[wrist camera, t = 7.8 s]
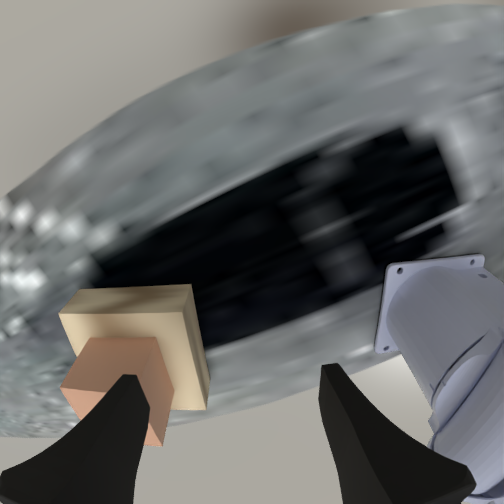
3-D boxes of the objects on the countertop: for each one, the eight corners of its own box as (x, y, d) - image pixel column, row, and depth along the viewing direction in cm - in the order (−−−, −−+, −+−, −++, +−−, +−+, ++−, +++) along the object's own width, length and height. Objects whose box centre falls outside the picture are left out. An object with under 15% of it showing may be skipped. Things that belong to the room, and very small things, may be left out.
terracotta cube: (156, 337, 19) (135, 394, 14) (174, 391, 21) (162, 446, 16) (89, 337, 19) (59, 387, 14) (113, 388, 21) (93, 438, 16)
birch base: (191, 283, 21) (182, 312, 18) (210, 378, 25) (206, 409, 21) (79, 289, 21) (58, 313, 18) (112, 376, 25) (100, 404, 22)
